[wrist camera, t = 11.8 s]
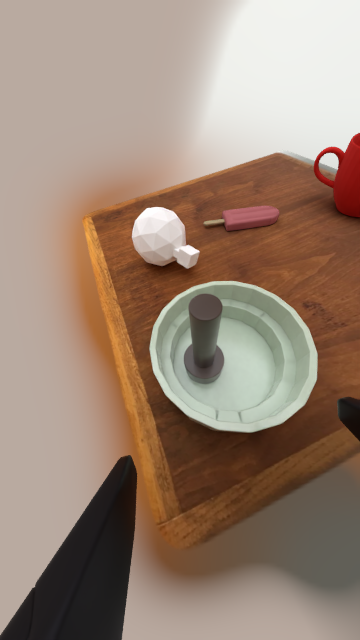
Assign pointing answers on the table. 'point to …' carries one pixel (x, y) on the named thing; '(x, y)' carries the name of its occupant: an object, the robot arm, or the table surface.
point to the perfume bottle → (162, 238)
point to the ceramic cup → (345, 177)
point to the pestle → (204, 339)
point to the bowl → (238, 359)
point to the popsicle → (247, 218)
